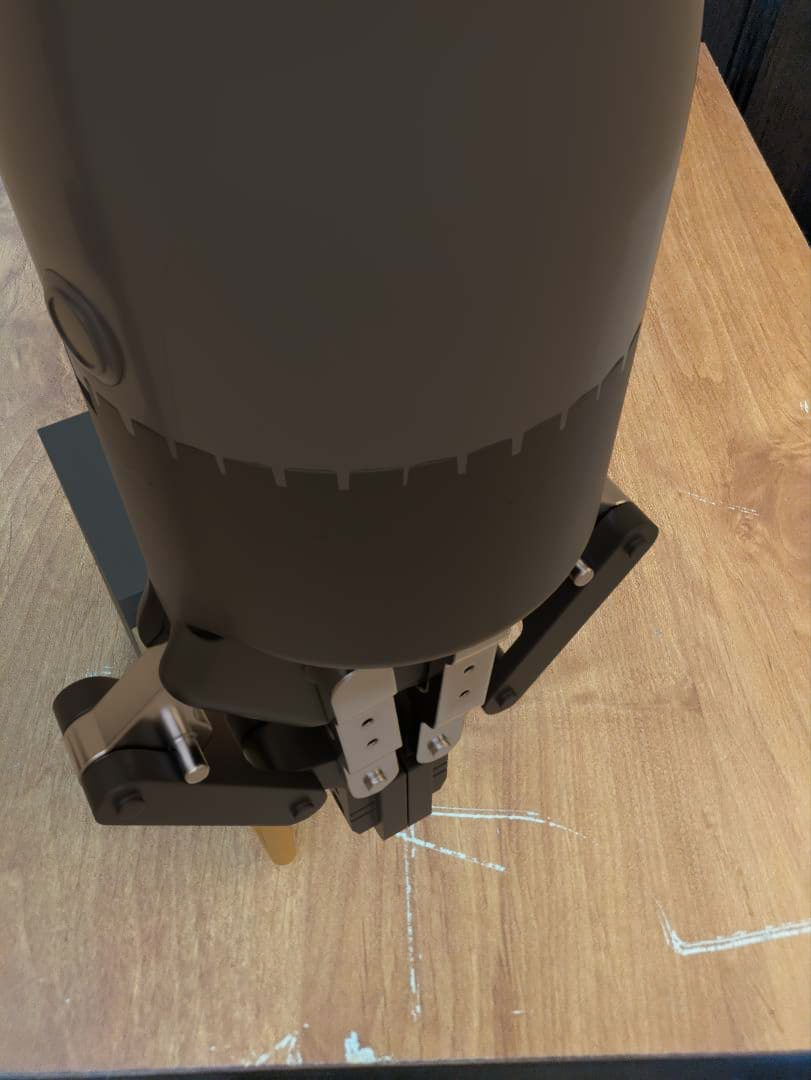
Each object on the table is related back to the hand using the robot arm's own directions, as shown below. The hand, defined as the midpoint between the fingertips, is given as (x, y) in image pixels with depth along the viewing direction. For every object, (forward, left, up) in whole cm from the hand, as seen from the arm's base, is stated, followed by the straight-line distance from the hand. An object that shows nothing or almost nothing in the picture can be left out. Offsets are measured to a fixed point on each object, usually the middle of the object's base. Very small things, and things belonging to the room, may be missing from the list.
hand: (387, 799), depth 25 cm
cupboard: (+4, +22, -26) cm, 35 cm away
